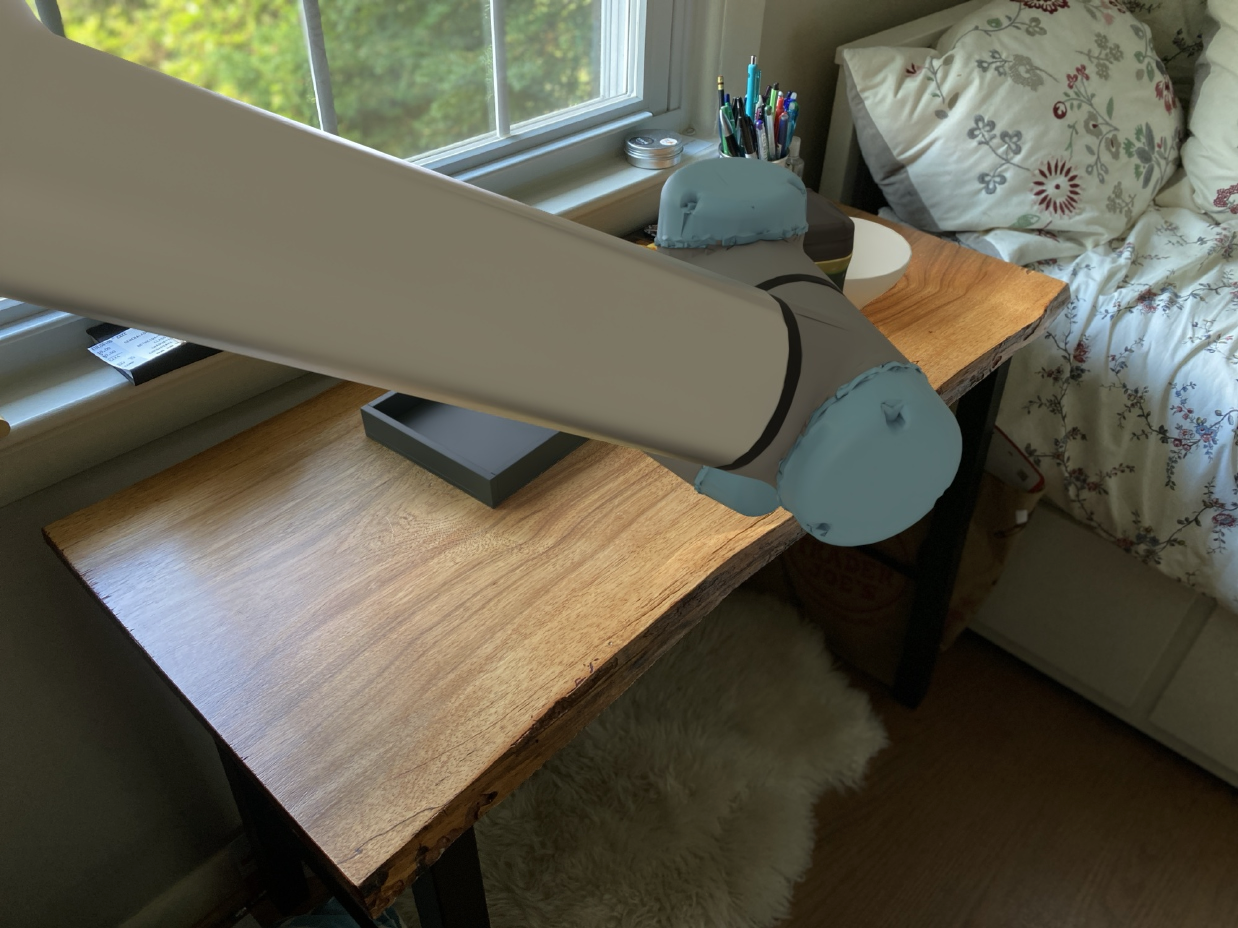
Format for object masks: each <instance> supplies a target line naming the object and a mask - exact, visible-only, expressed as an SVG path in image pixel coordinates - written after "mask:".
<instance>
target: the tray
mask: <svg viewBox="0 0 1238 928" xmlns="http://www.w3.org/2000/svg"><path fill="white" fill-rule="evenodd" d="M359 410H360V415H361V419H362V424H363V429H364V434H365V436H367V437H368V438H369V439H372V440H373V441H375V442H377V443H378V444H380V445H382V446H384V447H385V448H387V449H389V450H391V451H393V452H394V453H396V455H399V456H401V457H403V458H405V459H406V460H408V461H410V462H411V463H413V464H415V465H416V466H418V467H419V468H422V469H423V470H425V471H427V472H429V474H432V475H434V476H436V477H437V478H439V479H440V480H442V481H444V482H446V483H447V484H449V485H451V486H453V487H455V488H456V489H458V490H459V491H461V492H462V493H464V494H466V495H469V496H470V497H472V498H473V499H475V500H477V501H479V502H480V503H482V504H484V505H486V506H487V507H489V508H490V509H492V510H493V509H495V508H497V507H498V506H500V505H501V504H503V503H504V502H506V500H508V499H509V498H511V497H512V496H513V495H514V494H517V492H519V491H521V490H522V489H523V488H524V487H526V486H527V485H529V484H530V483H531V482H533V481H534V480H535V479H536V478H539V476H540V475H542V474H544V473H545V472H546V471H547V470H549V469H550V468H552V467H553V466H554V465H556V464H557V463H558V462H560V461H561V460H563V459H564V458H566V457H567V456H568V455H570V454H571V453H573V452H574V451H575V450H576V449H578V448H579V447H580V446H582V445H583V444H585V443H586V442H587V441H589V440H590V439H591V438H587V437H583V436H579V435H574V434H570V433H566V432H562V431H558V430H554V429H549V428H545V427H541V426H537V425H533V424H529V423H524V422H520V421H516V420H512V419H508V418H504V417H499V416H495V415H491V414H487V413H483V412H479V411H474V410H470V409H466V408H462V407H458V406H454V405H449V404H445V403H441V402H437V401H433V400H428V399H424V398H420V397H416V396H412V395H408V394H403V393H399V392H395V391H391V390H388V392H386V393H384V394H382V395H381V396H378V397H376V398H375V399H374V400H371V401H369V402H368V403H366V404H364V405H362V406H360V407H359Z"/></svg>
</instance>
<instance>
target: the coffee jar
mask: <svg viewBox="0 0 1238 928" xmlns="http://www.w3.org/2000/svg"><path fill="white" fill-rule="evenodd" d="M805 189H806V192H807V210H806V222H807V223H808V231H807V232H805V235H804V240H803V250H804V253H805V254H806V255H807V256H808V257H809V258H810V259H811V260H812V261H813V262H814V263H815V264H816V265H817V266H818V267H819V268H820V269H821V270H822V271H823V272H824V273H825V274H826V275H827V276H828V277H829V278H830V279H831V280H832V281H833V283H834V284H835V285H836V286H837V287H838V288H839V289H840V290H841V291H842V292H843V288H844V282H845V277H846V273H847V269H848V266H849V264H850V261H851V258H852V254H853V245H854V231H855V224H854V222H853V221H852V219H850V218H849V217H850V216H849V215H848V214H847V213H846V212H844V210H842V209H841V208H840V207H839V206H838V205H836V204H835V203H834V202H833V201H831V200H830V199H829V198H826V197H824V196H823V195H821V194H820V193H818V192H815V191H814V190H813V189H812V188H810V187H805Z"/></svg>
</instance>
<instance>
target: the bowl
mask: <svg viewBox="0 0 1238 928" xmlns="http://www.w3.org/2000/svg"><path fill="white" fill-rule="evenodd" d="M848 217H849V218H850V219H852V221H853V222H854V224H855V231H854V245H853V254H852V258H851V261H850V264H849V266H848V269H847V273H846V277H845V282H844V288H843V294H844V295H845V296H846V297H847V298H848V299H849V301H850V302H851V303H852V304H853V305H854V306H855V307H856V308H857V309H858V310H859V311H860V312H861V311H862V309H864V308H865V307H866V306H867V305H868V304H870V303H872V302H874V300H876V299H879V298H880V297H881V296H883V295H884V294H885V293H887V292H889V290H891V289H892V288H893V287H894V286H895V285H896V284H897V283H898V282H899V281H901V279H902V278H903V276H904V275H905V273H907V270H908V267H909V265H910V262H911V260H912V257H913V251H912V245H911V244H910V243H909V241H908V240H907V239H906V238H905V237H904V236H903V235H901V234H900V233H898V232H897V231H895V229H892V228H890V227H888V226H885V225H883V224H881V223H878V222H874V221H871V220H868V219H865V218H859V217H855V216H848Z"/></svg>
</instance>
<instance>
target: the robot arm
mask: <svg viewBox="0 0 1238 928" xmlns="http://www.w3.org/2000/svg"><path fill="white" fill-rule="evenodd" d="M805 188H806V184H804V181H803V180H802V179H801V178H800V177H799V176H798V175H797V174H796V173H795V172H794V171H792V170H791V169H789V168H787V167H785V166H783V165H781V164H778V163H775V162H772V161H768V160H764V159H760V158H759V159H758V158H753V157H742V156H722V157H713V158H706V159H701V160H697V161H694V162H691V163H688V164H686V165H684V166H682V167H680V168H678V169H676V170H675V171H674V172H673V173H672V174H670V175H669V176H668V178H667V179H666V180H665V183H664V184H663V187H662V188H661V193H660V200H659V210H658V220H657V228H656V229H657V232H656V236H655V238H654V239H653V240H654V242H653V243H654V245H655V246H657V252H656V251H654V250H651V249H648V248H645V247H643V246H640V245H641V244H637V243H635V242H631V241H628V240H626V239H624V238H620V237H617V236H615V235H612V234H609V233H608V232H607V233H606V232H603V231H601V230H598V229H596V228H593V227H590V226H587V225H584V224H581V223H578V222H576V221H573V220H572V219H571V220H570V219H568V218H566V217H562V216H560V215H557V214H554V213H551V212H548V211H546V210H543V209H540V208H537V207H534V206H532V205H529V204H527V203H524V202H521V201H519V200H517V201H515V200H516V199H515V200H513V199H514V198H512V199H510V198H511V197H509V198H507V197H508V196H506V197H504V196H505V195H501V194H499V193H496V192H493V191H491V190H487V189H485V188H482V187H479V186H476V185H473V184H471V183H468V182H465V181H462V180H460V179H458V178H454V177H451V176H448V175H446V174H443V173H441V172H438V171H436V170H432V169H430V168H427V167H424V166H420V165H418V164H416V163H413V162H410V161H407V160H405V159H402V158H399V157H396V156H394V155H391V154H388V153H386V152H383V151H381V150H377V149H374V148H372V147H369V146H366V145H363V144H360V143H359V142H355V141H352V140H349V139H346V138H344V137H341V136H338V135H335V134H333V133H330V132H328V131H325V130H322V129H319V128H316V127H313V126H310V125H308V124H305V123H302V122H299V121H296V120H294V119H291V118H288V117H286V116H283V115H280V114H278V113H275V112H271V111H269V110H266V109H263V108H262V107H261V108H260V107H258V106H255V105H253V104H250V103H247V102H244V101H242V100H240V99H239V100H238V99H236V98H234V97H230V96H227V95H224V94H223V93H220V92H216V91H214V90H211V89H208V88H206V87H203V86H201V85H197V84H195V83H191V82H189V81H186V80H184V79H181V78H179V77H176V76H172V75H170V74H167V73H164V72H161V71H158V70H156V69H153V68H150V67H148V66H145V65H142V64H139V63H136V62H133V61H131V60H128V59H125V58H123V57H120V56H117V55H114V54H113V53H108V52H106V51H103V50H100V49H98V48H95V47H92V46H89V45H86V44H83V43H81V42H78V41H75V40H72V39H70V38H67V37H64V36H62V35H59V34H56V33H53V32H52V31H51V30H50V29H49V28H48V27H47V26H46V25H45V23H43V22H42V21H41V20H39V19H38V17H37V16H36V14H35V13H34V11H33V10H32V8H31V6H30V5H29V4H28V2H27V1H26V0H0V298H3V299H8V300H12V301H16V302H21V303H24V304H29V305H33V306H37V307H41V308H46V309H50V310H54V311H58V312H61V313H66V314H70V315H74V316H79V317H83V318H87V319H90V320H96V321H100V322H104V323H108V324H112V325H116V326H119V327H125V328H129V329H133V330H136V331H140V332H144V333H145V332H146V333H149V334H153V335H158V336H162V337H167V338H171V339H174V340H178V341H183V342H187V343H192V344H195V345H200V346H204V347H208V348H211V349H215V350H220V351H224V352H230V353H233V354H237V355H241V356H245V357H249V358H253V359H258V360H262V361H266V362H269V363H273V364H274V363H275V364H279V365H283V366H288V367H290V368H294V369H295V368H296V369H298V370H299V369H300V370H304V371H308V372H313V373H316V374H320V375H324V376H329V377H333V378H337V379H342V380H346V381H350V382H354V383H357V384H362V385H366V386H369V387H370V386H371V387H375V388H378V389H383V390H387V391H395V392H399V393H403V394H408V395H412V396H416V397H420V398H424V399H428V400H433V401H437V402H441V403H445V404H449V405H454V406H458V407H462V408H466V409H470V410H474V411H479V412H483V413H487V414H491V415H495V416H499V417H504V418H508V419H512V420H516V421H520V422H524V423H529V424H533V425H537V426H541V427H545V428H549V429H554V430H558V431H562V432H566V433H570V434H574V435H579V436H583V437H587V438H590V439H591V440H596V441H600V442H604V443H609V444H611V445H616V446H621V447H625V448H629V449H634V450H637V451H641V452H642V453H643V454H645V455H646V456H648V457H649V458H650V459H652V460H653V461H655V462H656V463H658V464H659V465H661V466H662V467H664V468H665V469H667V470H668V471H670V472H671V473H673V474H674V475H676V476H677V477H678V478H680V479H681V480H683V481H685V482H686V483H687V484H688V485H690V486H691V487H693V488H694V491H695V492H696V493H697V494H699V495H700V496H701V495H703V496H705V497H708V498H710V499H712V500H713V501H715V502H717V503H718V504H721V505H722V506H724V507H726V508H728V509H729V510H732V511H734V512H735V513H737V514H740V515H742V516H744V517H750V518H756V517H757V518H758V517H763V516H766V515H769V514H771V513H774V512H775V511H776V510H777V509H779V508H780V507H781V509H783V510H784V511H786V512H788V513H790V514H791V515H792V516H793V517H794V519H795V521H797V523H798V524H799V526H800V527H801V528H802V529H804V531H806V533H808V534H810V535H811V536H813V537H814V538H815V539H817V540H819V541H820V542H823V543H824V544H825V543H826V544H828V545H832V546H838V547H857V546H863V545H870V544H874V543H875V544H876V543H878V542H881V541H884V540H887V539H889V538H892V537H894V536H896V535H898V534H900V533H902V532H903V531H905V530H907V529H908V528H910V527H912V526H913V525H915V524H916V523H918V522H919V521H920V520H921V519H922V518H923V517H925V516H926V515H927V514H928V513H929V512H930V511H931V510H932V509H933V508H934V506H935V504H936V502H937V500H938V499H940V497H941V496H943V495H944V492H945V491H946V490H947V489H948V488H950V486H951V485H952V483H953V481H954V480H955V477H956V474H957V472H958V470H959V467H960V463H961V460H962V453H963V436H962V432H961V427H960V425H959V423H958V420H957V418H956V416H955V414H954V412H952V411H951V409H950V407H949V406H948V405H947V404H946V403H945V401H944V400H943V399H942V397H941V396H940V395H939V394H938V392H937V391H936V389H934V387H933V386H932V385H931V384H930V382H929V379H928V376H927V374H926V373H925V372H924V371H923V370H922V368H921V367H920V365H918V364H917V363H914V362H912V361H910V360H909V359H908V358H907V357H906V356H905V355H904V353H902V351H900V350H899V349H898V348H897V346H895V344H894V343H892V342H891V340H889V339H888V337H886V336H885V335H884V333H882V331H881V330H880V329H878V328H877V326H875V325H874V323H872V322H871V320H869V318H867V317H866V315H864V313H862V311H861V310H860V311H859V310H858V309H857V308H856V307H855V306H854V305H853V304H852V303H851V302H850V301H849V299H848V298H847V297H846V296H845V295H844V294H843V292H842V291H841V290H840V289H839V288H838V287H837V286H836V285H835V284H834V283H833V281H832V280H831V279H830V278H829V277H828V276H827V275H826V274H825V273H824V272H823V271H822V270H821V269H820V268H819V267H818V266H817V265H816V264H815V263H814V262H813V261H812V260H811V259H810V258H809V257H808V256H807V255H806V254H805V253H804V250H803V240H804V235H805V232H807V231H808V223H807V222H806V210H807V192H806V189H805ZM518 201H519V202H518Z"/></svg>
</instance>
